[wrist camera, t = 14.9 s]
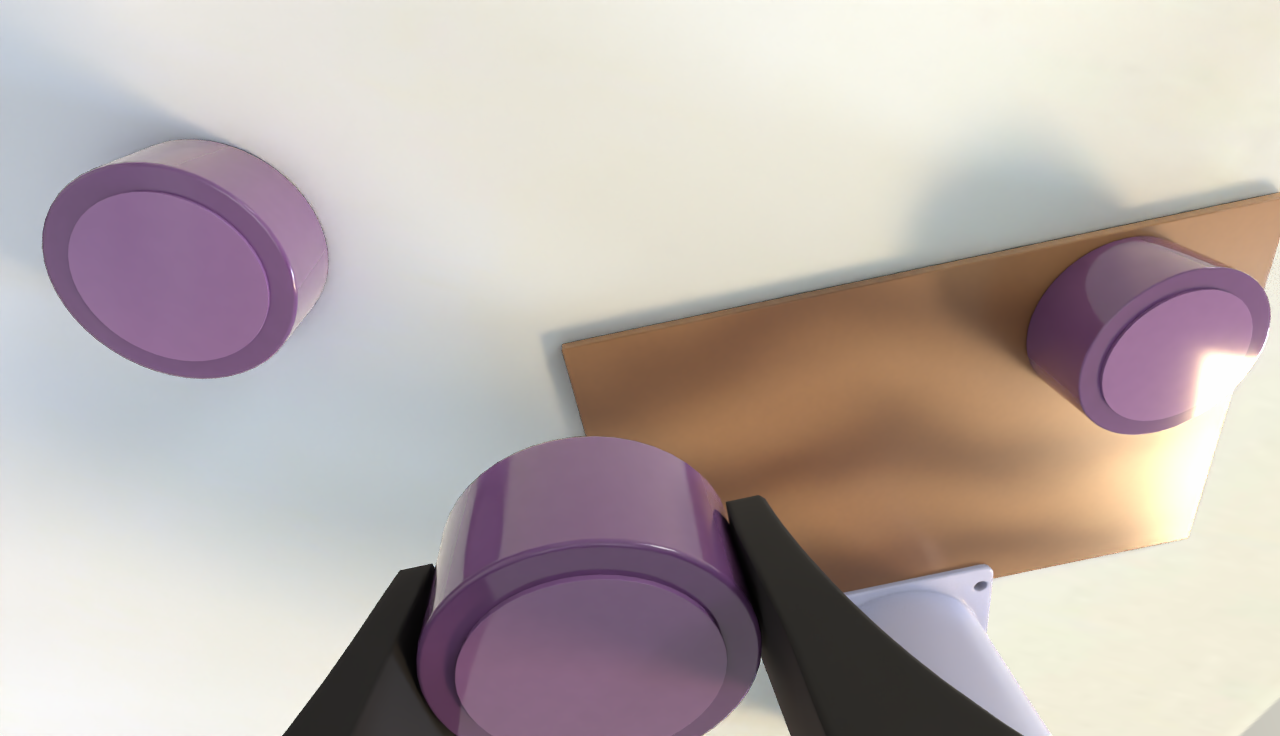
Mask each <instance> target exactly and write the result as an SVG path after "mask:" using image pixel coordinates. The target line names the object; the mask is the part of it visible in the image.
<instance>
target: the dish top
mask: <svg viewBox="0 0 1280 736" xmlns="http://www.w3.org/2000/svg"><path fill="white" fill-rule="evenodd" d="M1270 320H1271V311H1270V304H1269V300H1268V297H1267V295H1266V293H1265V291H1264V289H1263V288H1262V286H1261V285H1260V284H1259V283H1258V281H1257V280H1255V279H1254V278H1253V277H1251V276H1250V275H1249V274H1246V273H1244V272H1242V271H1240V270H1238V269H1236V268H1233V267H1231V266H1229V265H1226V264H1224V263H1222V262H1219V261H1217V260H1215V259H1212V258H1210V257H1208V256H1205V255H1203V254H1201V253H1198V252H1196V251H1193V250H1191V249H1189V248H1186V247H1184V246H1182V245H1179V244H1177V243H1175V242H1172V241H1170V240H1167V239H1164V238H1160V237H1153V236H1136V237H1129V238H1124V239H1120V240H1116V241H1113V242H1110V243H1108V244H1105V245H1102V246H1100V247H1098V248H1096V249H1094V250H1092V251H1090V252H1089V253H1087V254H1086V255H1084V256H1082V257H1081V258H1079V259H1078V260H1077V261H1075V262H1074V263H1073V264H1071V265H1070V266H1069V267H1068V268H1066V269H1065V270H1064V271H1063V272H1062V273H1061V274H1060V275H1059V276H1058V277H1057V278H1056V279H1055V280H1054V281H1053V283H1052V284H1051V285H1050V286H1049V287H1048V289H1047V290H1046V291H1045V293H1044V294H1043V295H1042V297H1041V299H1040V300H1039V302H1038V304H1037V305H1036V308H1035V310H1034V312H1033V314H1032V317H1031V320H1030V323H1029V326H1028V331H1027V338H1026V348H1027V355H1028V358H1029V362H1030V364H1031V366H1032V368H1033V370H1034V371H1035V373H1036V374H1037V375H1038V377H1040V378H1041V379H1042V380H1043V381H1044V382H1045V383H1046V384H1048V385H1049V386H1050V387H1051V388H1052V389H1054V390H1055V391H1056V392H1057V393H1058V394H1060V395H1061V396H1062V397H1063V398H1064V399H1066V400H1067V401H1068V402H1069V403H1070V404H1072V405H1073V406H1074V407H1075V408H1076V409H1078V410H1079V411H1080V412H1081V413H1082V414H1084V415H1085V416H1086V417H1087V418H1088V419H1090V420H1091V421H1092V422H1093V423H1094V424H1096V425H1097V426H1099V427H1101V428H1103V429H1105V430H1108V431H1110V432H1114V433H1118V434H1124V435H1144V434H1150V433H1156V432H1160V431H1164V430H1167V429H1170V428H1173V427H1176V426H1178V425H1181V424H1183V423H1185V422H1187V421H1189V420H1191V419H1193V418H1195V417H1197V416H1199V415H1200V414H1202V413H1204V412H1205V411H1207V410H1208V409H1210V408H1211V407H1213V406H1214V405H1215V404H1217V403H1218V402H1219V401H1220V400H1222V399H1223V398H1224V397H1225V396H1226V395H1227V394H1229V393H1230V392H1231V391H1232V390H1233V389H1234V388H1235V387H1236V386H1237V385H1238V384H1239V383H1240V382H1241V381H1242V379H1243V378H1244V377H1245V376H1246V374H1247V373H1248V372H1249V371H1250V369H1251V368H1252V366H1253V365H1254V363H1255V362H1256V360H1257V359H1258V357H1259V355H1260V353H1261V351H1262V349H1263V347H1264V344H1265V342H1266V339H1267V336H1268V332H1269V328H1270Z"/></svg>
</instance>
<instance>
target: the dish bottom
mask: <svg viewBox="0 0 1280 736" xmlns="http://www.w3.org/2000/svg"><path fill="white" fill-rule="evenodd" d="M42 249H43V256H44V262H45V266H46V269H47V272H48V276H49V278H50V280H51V283H52V285H53V287H54V289H55V291H56V293H57V295H58V296H59V298H60V299H61V301H62V303H63V304H64V306H65V307H66V308H67V310H68V311H69V312H70V313H71V315H72V316H73V317H74V318H75V319H76V320H77V322H78V323H79V324H80V325H81V326H82V327H83V328H84V329H85V330H86V331H87V332H89V333H90V334H91V335H92V336H93V337H94V338H95V339H97V340H98V341H99V342H101V343H102V344H103V345H105V346H106V347H108V348H109V349H110V350H112V351H114V352H115V353H117V354H119V355H121V356H122V357H124V358H126V359H128V360H130V361H132V362H134V363H136V364H138V365H140V366H143V367H146V368H149V369H151V370H154V371H157V372H161V373H165V374H168V375H173V376H179V377H185V378H197V379H210V378H221V377H228V376H232V375H236V374H240V373H243V372H246V371H248V370H251V369H253V368H255V367H257V366H259V365H261V364H262V363H264V362H266V361H267V360H268V359H270V358H271V357H272V356H273V355H274V354H276V353H277V352H278V350H279V349H280V348H281V347H282V346H283V345H284V344H285V342H286V341H287V340H288V338H289V337H290V336H291V335H292V333H293V332H294V331H295V329H296V328H297V327H298V326H299V324H300V323H301V322H302V320H303V319H304V318H305V317H306V315H307V314H308V313H309V311H310V310H311V309H312V308H313V306H314V305H315V304H316V302H317V300H318V299H319V297H320V296H321V293H322V291H323V289H324V286H325V283H326V279H327V274H328V249H327V245H326V240H325V236H324V233H323V230H322V228H321V225H320V223H319V221H318V219H317V217H316V215H315V213H314V211H313V209H312V208H311V206H310V205H309V203H308V202H307V200H306V199H305V198H304V196H303V195H302V194H301V193H300V192H299V190H298V189H297V188H296V187H295V186H294V185H293V184H292V183H291V182H290V181H289V180H288V179H287V178H286V177H285V176H283V175H282V174H281V173H280V172H278V171H277V170H276V169H274V168H273V167H272V166H270V165H269V164H267V163H265V162H264V161H262V160H261V159H259V158H257V157H255V156H253V155H251V154H249V153H247V152H245V151H243V150H240V149H237V148H235V147H232V146H229V145H226V144H222V143H218V142H213V141H207V140H198V139H180V140H173V141H166V142H163V143H159V144H156V145H153V146H150V147H148V148H145V149H143V150H140V151H137V152H135V153H132V154H130V155H127V156H125V157H122V158H120V159H117V160H115V161H112V162H109V163H107V164H104V165H102V166H99V167H97V168H94V169H92V170H90V171H88V172H86V173H84V174H82V175H80V176H78V177H77V178H75V179H74V180H73V181H71V182H70V183H68V184H67V185H66V186H65V188H64V189H63V190H62V191H61V192H60V193H59V194H58V195H57V197H56V198H55V200H54V201H53V203H52V204H51V207H50V209H49V211H48V214H47V216H46V219H45V223H44V228H43V235H42Z"/></svg>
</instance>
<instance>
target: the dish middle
mask: <svg viewBox="0 0 1280 736" xmlns="http://www.w3.org/2000/svg"><path fill="white" fill-rule="evenodd" d="M761 652H762V631H761V627H760V623H759V619H758V616H757V612H756V609H755V606H754V602H753V599H752V596H751V592H750V589H749V586H748V582H747V579H746V576H745V573H744V570H743V568H742V565H741V561H740V558H739V555H738V551H737V548H736V545H735V541H734V538H733V535H732V531H731V528H730V525H729V519H728V516H727V513H726V510H725V508H724V506H723V504H722V501H721V499H720V497H719V496H718V495H717V493H716V492H715V490H714V489H713V487H712V486H711V485H710V484H709V483H708V481H707V480H706V479H705V478H704V477H703V476H702V475H701V474H700V473H699V472H697V471H696V470H695V469H694V468H692V467H691V466H690V465H688V464H687V463H686V462H684V461H683V460H681V459H679V458H678V457H676V456H674V455H673V454H671V453H669V452H666V451H664V450H662V449H659V448H657V447H655V446H652V445H649V444H645V443H642V442H638V441H635V440H629V439H623V438H618V437H606V436H580V437H569V438H563V439H557V440H552V441H548V442H544V443H541V444H537V445H533V446H531V447H528V448H526V449H523V450H521V451H518V452H516V453H514V454H512V455H510V456H508V457H506V458H504V459H503V460H501V461H499V462H497V463H496V464H494V465H493V466H492V467H490V468H489V469H487V470H486V471H485V472H483V473H482V474H481V475H480V476H479V477H478V478H477V479H476V480H475V481H473V482H472V483H471V484H470V485H469V486H468V487H467V489H466V490H465V491H464V492H463V494H462V495H461V496H460V497H459V499H458V500H457V502H456V503H455V505H454V507H453V509H452V510H451V512H450V514H449V517H448V519H447V522H446V525H445V528H444V532H443V536H442V540H441V545H440V549H439V553H438V558H437V562H436V567H435V571H434V575H433V580H432V584H431V588H430V593H429V597H428V601H427V606H426V610H425V615H424V619H423V623H422V628H421V632H420V636H419V641H418V646H417V652H416V673H417V678H418V682H419V686H420V690H421V692H422V695H423V697H424V699H425V701H426V703H427V705H428V707H429V708H430V710H431V711H432V712H433V714H434V715H435V717H436V718H437V719H438V720H439V721H440V722H441V723H442V724H443V725H444V726H445V727H446V728H447V729H448V730H449V731H450V732H451V733H453V734H454V735H455V736H703V735H704V734H706V733H707V732H709V731H710V730H712V729H713V728H715V727H716V726H717V725H718V724H719V723H721V722H722V721H723V720H724V719H725V718H727V717H728V716H729V714H730V713H731V712H732V711H733V710H734V709H735V708H736V707H737V706H738V705H739V704H740V702H741V701H742V700H743V698H744V697H745V695H746V694H747V693H748V691H749V689H750V687H751V685H752V683H753V681H754V680H755V677H756V674H757V671H758V668H759V665H760V659H761Z"/></svg>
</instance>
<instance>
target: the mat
mask: <svg viewBox="0 0 1280 736" xmlns="http://www.w3.org/2000/svg"><path fill="white" fill-rule="evenodd" d="M1136 236H1153V237H1160V238H1164V239H1167V240H1170V241H1172V242H1175V243H1177V244H1179V245H1182V246H1184V247H1186V248H1189V249H1191V250H1193V251H1196V252H1198V253H1201V254H1203V255H1205V256H1208V257H1210V258H1212V259H1215V260H1217V261H1219V262H1222V263H1224V264H1226V265H1229V266H1231V267H1233V268H1236V269H1238V270H1240V271H1242V272H1244V273H1246V274H1249V275H1250V276H1251V277H1253V278H1254V279H1255V280H1257V281H1258V283H1259V284H1260V285H1261V286H1262V288H1263V289H1265V285H1266V282H1267V279H1268V276H1269V272H1270V269H1271V266H1272V263H1273V259H1274V256H1275V253H1276V249H1277V246H1278V243H1279V240H1280V192H1279V193H1274V194H1270V195H1265V196H1260V197H1255V198H1251V199H1246V200H1241V201H1236V202H1232V203H1227V204H1222V205H1218V206H1213V207H1208V208H1203V209H1199V210H1194V211H1189V212H1184V213H1180V214H1175V215H1170V216H1166V217H1161V218H1156V219H1151V220H1147V221H1142V222H1137V223H1132V224H1128V225H1123V226H1118V227H1114V228H1109V229H1104V230H1099V231H1095V232H1090V233H1085V234H1080V235H1076V236H1071V237H1066V238H1062V239H1057V240H1052V241H1047V242H1043V243H1038V244H1033V245H1028V246H1024V247H1019V248H1014V249H1010V250H1005V251H1000V252H995V253H991V254H986V255H981V256H976V257H972V258H967V259H962V260H958V261H953V262H948V263H943V264H939V265H934V266H929V267H924V268H920V269H915V270H910V271H906V272H901V273H896V274H891V275H887V276H882V277H877V278H872V279H868V280H863V281H858V282H854V283H849V284H844V285H839V286H835V287H830V288H825V289H821V290H816V291H811V292H806V293H802V294H797V295H792V296H787V297H783V298H778V299H773V300H769V301H764V302H759V303H754V304H750V305H745V306H740V307H735V308H731V309H726V310H721V311H717V312H712V313H707V314H702V315H698V316H693V317H688V318H683V319H679V320H674V321H669V322H665V323H660V324H655V325H650V326H646V327H641V328H636V329H631V330H627V331H622V332H617V333H613V334H608V335H603V336H598V337H594V338H589V339H584V340H579V341H575V342H570V343H565V344H562V353H563V357H564V360H565V364H566V367H567V371H568V374H569V378H570V382H571V385H572V389H573V392H574V396H575V399H576V403H577V407H578V410H579V414H580V417H581V421H582V424H583V428H584V431H585V435H586V436H606V437H618V438H623V439H629V440H635V441H638V442H642V443H645V444H649V445H652V446H655V447H657V448H659V449H662V450H664V451H666V452H669V453H671V454H673V455H674V456H676V457H678V458H679V459H681V460H683V461H684V462H686V463H687V464H688V465H690V466H691V467H692V468H694V469H695V470H696V471H697V472H699V473H700V474H701V475H702V476H703V477H704V478H705V479H706V480H707V481H708V483H709V484H710V485H711V486H712V487H713V489H714V490H715V492H716V493H717V495H718V496H719V497H720V499H721V501H722V504H723V506H724V508H725V510H726V513H727V507H726V502H727V501H732V500H737V499H741V498H746V497H751V496H756V495H760V496H762V497H763V498H765V499H766V500H767V502H768V504H769V505H770V507H771V508H772V510H773V511H774V513H775V514H776V516H777V517H778V518H779V520H780V521H781V522H782V524H783V525H784V526H785V528H786V529H787V530H788V531H789V533H790V534H791V535H792V536H793V538H794V539H795V540H796V541H797V542H798V544H799V545H800V546H801V547H802V548H803V550H804V551H805V552H806V553H807V554H808V555H809V557H810V558H811V559H812V560H813V561H814V562H815V563H816V564H817V565H818V566H819V568H820V569H821V570H822V571H823V572H824V573H825V574H826V575H827V576H828V577H829V578H830V580H831V581H832V582H833V583H834V584H835V585H836V586H837V587H838V588H839V589H840V590H841V591H842V592H843V593H844V592H849V591H854V590H859V589H864V588H869V587H873V586H878V585H883V584H888V583H893V582H898V581H903V580H907V579H912V578H917V577H922V576H927V575H932V574H936V573H941V572H946V571H951V570H956V569H961V568H965V567H970V566H975V565H980V564H985V565H988V566H989V567H991V569H992V570H993V578H998V577H1003V576H1008V575H1012V574H1017V573H1022V572H1027V571H1032V570H1037V569H1041V568H1046V567H1051V566H1056V565H1061V564H1066V563H1070V562H1075V561H1080V560H1085V559H1090V558H1095V557H1099V556H1104V555H1109V554H1114V553H1119V552H1124V551H1129V550H1133V549H1138V548H1143V547H1148V546H1153V545H1158V544H1162V543H1167V542H1172V541H1177V540H1182V539H1187V538H1188V537H1189V534H1190V531H1191V527H1192V524H1193V521H1194V518H1195V514H1196V511H1197V508H1198V504H1199V501H1200V498H1201V495H1202V491H1203V488H1204V485H1205V482H1206V478H1207V475H1208V472H1209V469H1210V465H1211V462H1212V459H1213V455H1214V452H1215V449H1216V446H1217V442H1218V439H1219V436H1220V433H1221V429H1222V426H1223V423H1224V419H1225V416H1226V413H1227V410H1228V406H1229V403H1230V400H1231V397H1232V393H1233V390H1234V389H1233V390H1232V391H1231V392H1230V393H1229V394H1227V395H1226V396H1225V397H1224V398H1223V399H1222V400H1220V401H1219V402H1218V403H1217V404H1215V405H1214V406H1213V407H1211V408H1210V409H1208V410H1207V411H1205V412H1204V413H1202V414H1200V415H1199V416H1197V417H1195V418H1193V419H1191V420H1189V421H1187V422H1185V423H1183V424H1181V425H1178V426H1176V427H1173V428H1170V429H1167V430H1164V431H1160V432H1156V433H1150V434H1144V435H1124V434H1118V433H1114V432H1110V431H1108V430H1105V429H1103V428H1101V427H1099V426H1097V425H1096V424H1094V423H1093V422H1092V421H1091V420H1090V419H1088V418H1087V417H1086V416H1085V415H1084V414H1082V413H1081V412H1080V411H1079V410H1078V409H1076V408H1075V407H1074V406H1073V405H1072V404H1070V403H1069V402H1068V401H1067V400H1066V399H1064V398H1063V397H1062V396H1061V395H1060V394H1058V393H1057V392H1056V391H1055V390H1054V389H1052V388H1051V387H1050V386H1049V385H1048V384H1046V383H1045V382H1044V381H1043V380H1042V379H1041V378H1040V377H1038V375H1037V374H1036V373H1035V371H1034V370H1033V368H1032V366H1031V364H1030V362H1029V358H1028V355H1027V348H1026V338H1027V331H1028V326H1029V323H1030V320H1031V317H1032V314H1033V312H1034V310H1035V308H1036V305H1037V304H1038V302H1039V300H1040V299H1041V297H1042V295H1043V294H1044V293H1045V291H1046V290H1047V289H1048V287H1049V286H1050V285H1051V284H1052V283H1053V281H1054V280H1055V279H1056V278H1057V277H1058V276H1059V275H1060V274H1061V273H1062V272H1063V271H1064V270H1065V269H1066V268H1068V267H1069V266H1070V265H1071V264H1073V263H1074V262H1075V261H1077V260H1078V259H1079V258H1081V257H1082V256H1084V255H1086V254H1087V253H1089V252H1090V251H1092V250H1094V249H1096V248H1098V247H1100V246H1102V245H1105V244H1108V243H1110V242H1113V241H1116V240H1120V239H1124V238H1129V237H1136ZM727 516H728V513H727Z"/></svg>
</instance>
